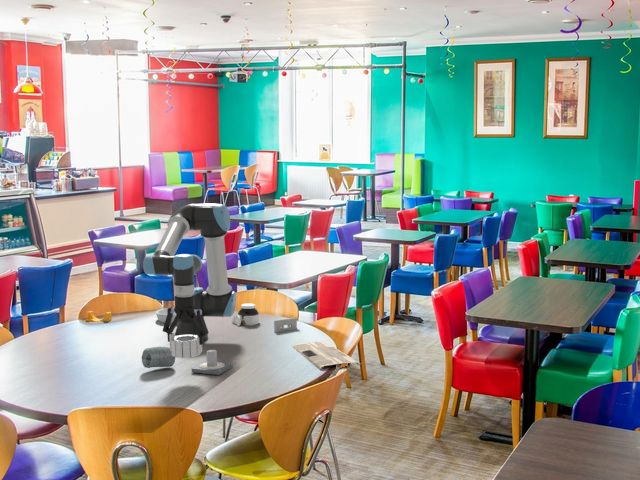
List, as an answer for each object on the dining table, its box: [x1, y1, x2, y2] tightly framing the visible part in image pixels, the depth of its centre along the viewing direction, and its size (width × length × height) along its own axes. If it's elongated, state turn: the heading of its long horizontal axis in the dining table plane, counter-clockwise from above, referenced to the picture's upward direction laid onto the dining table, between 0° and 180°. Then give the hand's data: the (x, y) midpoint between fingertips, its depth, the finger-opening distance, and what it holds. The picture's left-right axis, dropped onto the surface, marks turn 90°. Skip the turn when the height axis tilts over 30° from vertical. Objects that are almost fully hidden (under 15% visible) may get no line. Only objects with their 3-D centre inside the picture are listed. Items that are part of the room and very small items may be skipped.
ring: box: [171, 335, 202, 359], centre depth 293 cm, size 11×11×6 cm
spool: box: [141, 346, 176, 369], centre depth 306 cm, size 14×10×10 cm
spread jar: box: [231, 302, 260, 327], centre depth 377 cm, size 12×11×12 cm
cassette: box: [273, 317, 298, 333], centre depth 363 cm, size 12×2×8 cm, turn 122°
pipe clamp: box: [85, 310, 112, 323], centre depth 386 cm, size 12×4×6 cm, turn 77°
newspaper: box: [291, 341, 362, 371], centre depth 324 cm, size 37×19×3 cm, turn 21°
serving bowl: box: [155, 306, 177, 325], centre depth 387 cm, size 21×21×7 cm
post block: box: [191, 349, 233, 376], centre depth 305 cm, size 12×12×8 cm
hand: (186, 351), depth 293 cm, fingers closed on ring, 11 cm apart
